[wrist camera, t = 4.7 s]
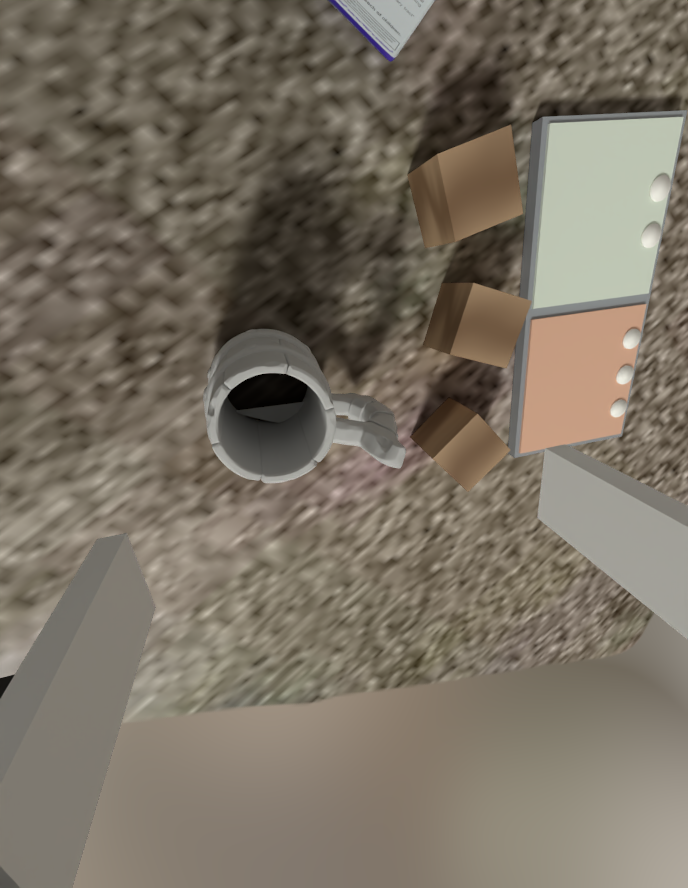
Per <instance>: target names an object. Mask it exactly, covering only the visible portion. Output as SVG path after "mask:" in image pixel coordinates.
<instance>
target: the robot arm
mask: <svg viewBox="0 0 688 888" xmlns="http://www.w3.org/2000/svg"><path fill="white" fill-rule="evenodd" d="M538 519H540V520H541V521H542V522H543V523H544V524H546V525H547V526H548V527H549V528H551V529H552V530H553V531H554V532H556V533H557V534H558V535H559V536H561V537H562V538H563V539H564V540H565V541H567V542H568V543H569V544H570V545H572V546H573V547H574V548H575V549H577V550H578V551H579V552H580V553H581V554H583V555H584V556H585V557H586V558H588V559H589V560H590V561H591V562H593V563H594V564H595V565H596V566H597V567H599V568H600V569H601V570H602V571H604V572H605V573H606V574H607V575H609V576H610V577H611V578H612V579H614V580H615V581H616V582H617V583H618V584H620V585H621V586H622V587H623V588H625V589H626V590H627V591H628V592H630V593H631V594H632V595H633V596H634V597H636V598H637V599H638V600H639V601H641V602H642V603H643V604H644V605H646V606H647V607H648V608H649V609H651V610H652V611H653V612H654V613H656V614H657V615H658V616H659V617H661V618H662V619H663V620H664V621H665V622H667V623H668V624H669V625H670V626H671V627H673V628H674V629H675V630H677V631H678V632H679V633H680V634H682V635H683V636H684V637H685V638H686V639H688V506H687V505H685V504H683V503H681V502H679V501H677V500H675V499H673V498H671V497H669V496H667V495H665V494H663V493H661V492H659V491H657V490H655V489H653V488H651V487H649V486H647V485H645V484H643V483H641V482H639V481H638V480H636V479H634V478H632V477H630V476H628V475H626V474H624V473H622V472H620V471H618V470H616V469H614V468H612V467H610V466H608V465H606V464H604V463H602V462H600V461H598V460H596V459H594V458H592V457H590V456H588V455H586V454H584V453H582V452H580V451H578V450H576V449H574V448H572V447H570V446H568V445H566V444H564V445H559V446H554V447H549V448H545V454H544V464H543V473H542V482H541V491H540V500H539V509H538ZM155 608H156V606H155V604H154V601H153V599H152V596H151V594H150V591H149V589H148V586H147V584H146V581H145V578H144V576H143V573H142V571H141V568H140V566H139V563H138V561H137V558H136V556H135V553H134V550H133V548H132V545H131V543H130V540H129V538H128V535H127V533H125V534H120V535H115V536H110V537H105V538H100V539H97V540H96V542H95V544H94V545H93V547H92V548H91V550H90V552H89V553H88V555H87V557H86V558H85V560H84V562H83V563H82V565H81V567H80V568H79V570H78V572H77V573H76V575H75V576H74V578H73V580H72V581H71V583H70V585H69V586H68V588H67V590H66V591H65V593H64V595H63V596H62V598H61V600H60V601H59V603H58V604H57V606H56V608H55V609H54V611H53V613H52V614H51V616H50V618H49V619H48V621H47V623H46V624H45V626H44V628H43V629H42V631H41V633H40V634H39V636H38V637H37V639H36V641H35V642H34V644H33V646H32V647H31V649H30V651H29V652H28V654H27V656H26V657H25V659H24V661H23V662H22V664H21V665H20V667H19V669H18V670H17V672H16V674H15V675H11V676H7V677H3V678H0V888H72V887H73V884H74V881H75V877H76V874H77V870H78V867H79V864H80V860H81V857H82V854H83V850H84V847H85V843H86V840H87V837H88V833H89V830H90V826H91V823H92V820H93V816H94V813H95V810H96V806H97V803H98V800H99V796H100V793H101V790H102V786H103V783H104V779H105V776H106V773H107V769H108V766H109V763H110V759H111V756H112V752H113V749H114V745H115V742H116V739H117V736H118V732H119V729H120V726H121V722H122V719H123V715H124V712H125V709H126V705H127V702H128V699H129V695H130V692H131V689H132V685H133V682H134V678H135V675H136V672H137V668H138V665H139V662H140V658H141V655H142V651H143V648H144V645H145V641H146V638H147V635H148V631H149V628H150V625H151V621H152V618H153V614H154V611H155Z"/></svg>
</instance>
